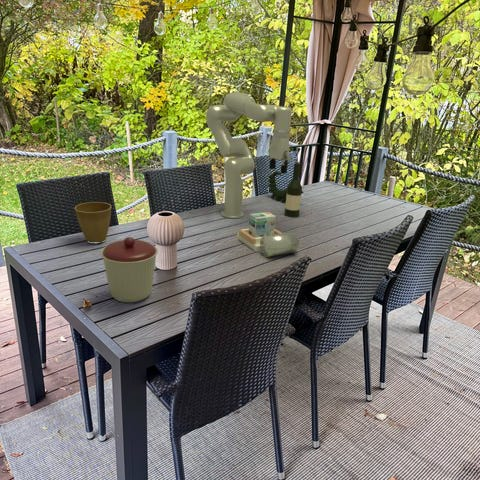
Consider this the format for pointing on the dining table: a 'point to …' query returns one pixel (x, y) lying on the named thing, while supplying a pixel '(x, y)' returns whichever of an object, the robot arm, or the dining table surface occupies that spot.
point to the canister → (129, 268)
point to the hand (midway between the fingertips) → (277, 171)
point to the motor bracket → (270, 242)
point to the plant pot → (94, 220)
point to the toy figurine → (276, 193)
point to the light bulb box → (261, 224)
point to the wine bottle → (293, 194)
